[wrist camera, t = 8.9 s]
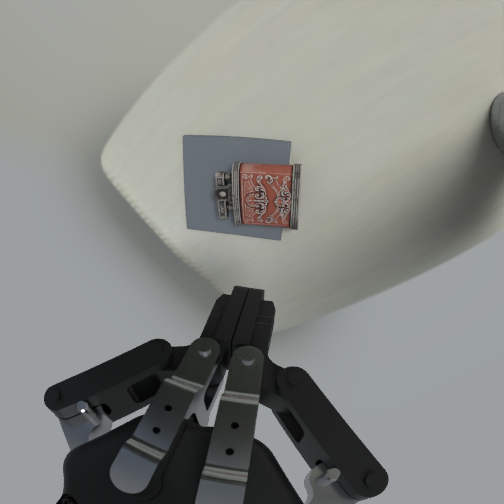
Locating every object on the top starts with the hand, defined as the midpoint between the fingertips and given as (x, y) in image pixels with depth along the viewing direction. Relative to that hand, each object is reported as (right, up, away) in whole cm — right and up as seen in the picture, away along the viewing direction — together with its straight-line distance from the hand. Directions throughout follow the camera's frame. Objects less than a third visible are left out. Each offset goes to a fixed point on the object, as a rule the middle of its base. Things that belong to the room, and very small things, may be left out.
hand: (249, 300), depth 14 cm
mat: (-2, +11, +20) cm, 23 cm away
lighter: (+6, +9, +17) cm, 20 cm away
